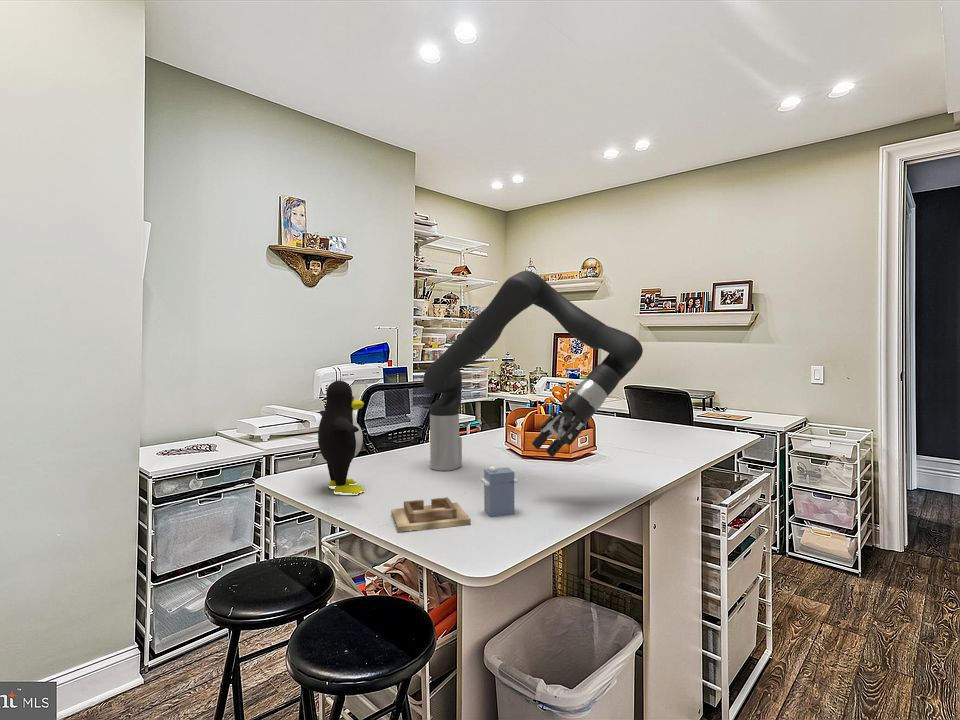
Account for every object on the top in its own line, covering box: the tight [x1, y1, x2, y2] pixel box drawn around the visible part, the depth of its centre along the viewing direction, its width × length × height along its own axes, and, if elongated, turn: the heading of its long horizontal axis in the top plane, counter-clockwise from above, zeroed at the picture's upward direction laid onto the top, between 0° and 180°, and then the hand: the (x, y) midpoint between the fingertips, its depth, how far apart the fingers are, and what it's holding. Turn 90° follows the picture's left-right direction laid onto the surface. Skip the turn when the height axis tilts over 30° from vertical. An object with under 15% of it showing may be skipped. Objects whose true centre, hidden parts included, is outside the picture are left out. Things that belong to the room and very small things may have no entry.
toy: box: [317, 380, 365, 494], centre depth 139 cm, size 37×12×30 cm, turn 30°
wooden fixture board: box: [390, 497, 472, 533], centre depth 116 cm, size 16×12×3 cm
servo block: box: [480, 465, 519, 518], centre depth 120 cm, size 8×4×11 cm, turn 106°
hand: (541, 450), depth 123 cm, fingers open, 8 cm apart
